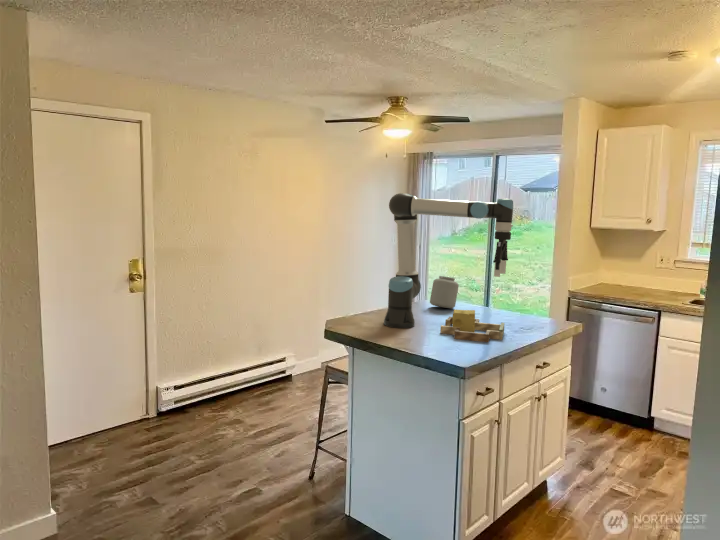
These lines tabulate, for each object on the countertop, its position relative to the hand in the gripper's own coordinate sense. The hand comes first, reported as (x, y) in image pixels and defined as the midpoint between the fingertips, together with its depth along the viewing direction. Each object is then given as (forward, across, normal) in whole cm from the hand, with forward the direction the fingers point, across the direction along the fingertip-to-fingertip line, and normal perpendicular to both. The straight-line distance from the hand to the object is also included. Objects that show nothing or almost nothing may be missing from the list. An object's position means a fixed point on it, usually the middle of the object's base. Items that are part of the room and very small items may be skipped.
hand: (499, 275), depth 259 cm
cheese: (+27, -15, +12) cm, 33 cm away
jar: (+27, +37, +37) cm, 59 cm away
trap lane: (+27, -14, +8) cm, 31 cm away
